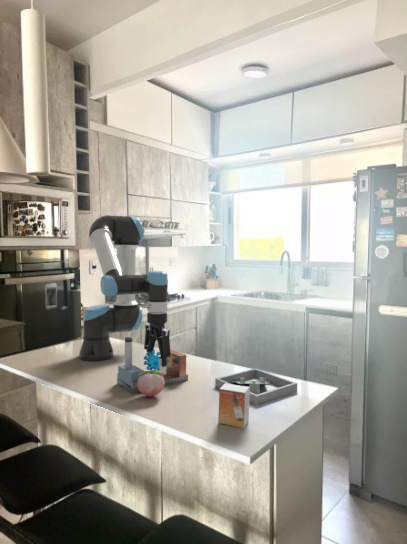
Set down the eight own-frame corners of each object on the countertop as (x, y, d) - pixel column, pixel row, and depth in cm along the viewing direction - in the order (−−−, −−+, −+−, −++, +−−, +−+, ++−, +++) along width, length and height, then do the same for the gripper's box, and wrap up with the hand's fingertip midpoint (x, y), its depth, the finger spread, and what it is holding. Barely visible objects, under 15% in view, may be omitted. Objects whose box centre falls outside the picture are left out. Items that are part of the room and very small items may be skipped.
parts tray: (215, 386, 146) (215, 378, 145) (254, 375, 159) (255, 368, 158) (256, 405, 129) (256, 396, 129) (297, 391, 142) (297, 383, 142)
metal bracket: (276, 378, 139) (233, 378, 139) (276, 395, 138) (234, 395, 138) (267, 376, 153) (229, 376, 153) (268, 392, 152) (229, 392, 152)
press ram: (118, 378, 145) (118, 335, 144) (130, 376, 149) (130, 334, 147) (131, 386, 138) (131, 341, 137) (143, 383, 141) (144, 339, 140)
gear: (148, 373, 143) (142, 349, 149) (141, 381, 146) (135, 358, 152) (174, 372, 149) (167, 349, 155) (167, 380, 153) (160, 357, 159)
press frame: (116, 383, 146) (117, 357, 146) (170, 371, 161) (170, 347, 161) (132, 393, 137) (132, 365, 136) (188, 380, 152) (188, 354, 151)
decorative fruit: (160, 390, 140) (161, 363, 140) (166, 399, 133) (167, 370, 132) (134, 393, 137) (134, 365, 136) (139, 402, 129) (139, 373, 129)
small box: (217, 423, 115) (218, 388, 115) (223, 416, 121) (224, 382, 120) (244, 428, 113) (245, 392, 112) (249, 420, 118) (250, 386, 117)
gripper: (135, 309, 154) (134, 366, 155) (163, 317, 138) (163, 381, 140) (151, 307, 159) (151, 363, 160) (181, 315, 143) (180, 377, 144)
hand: (156, 371), depth 150 cm, fingers closed on gear, 8 cm apart
